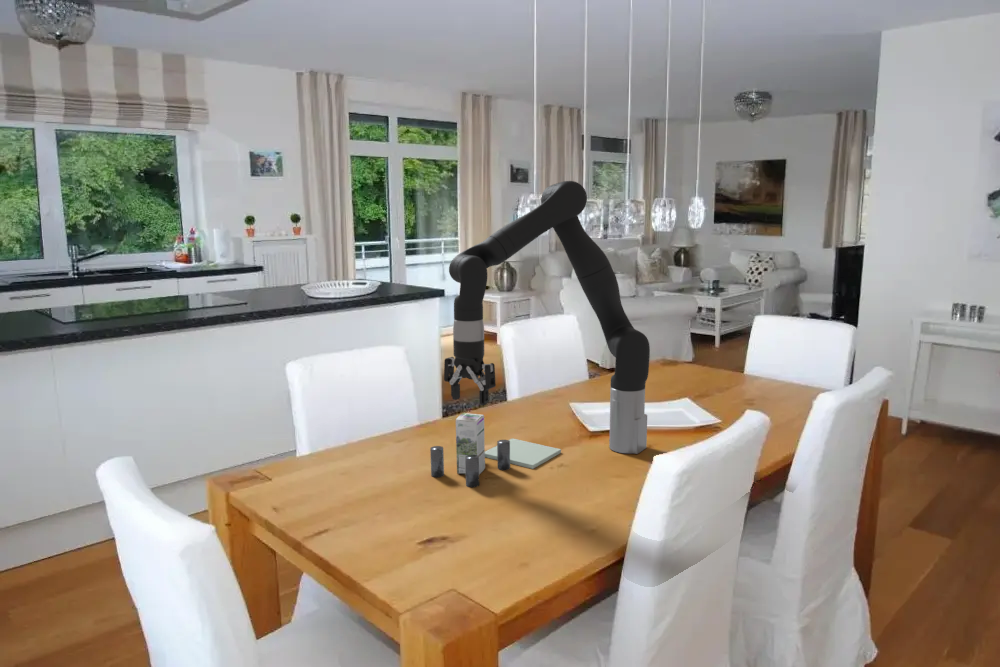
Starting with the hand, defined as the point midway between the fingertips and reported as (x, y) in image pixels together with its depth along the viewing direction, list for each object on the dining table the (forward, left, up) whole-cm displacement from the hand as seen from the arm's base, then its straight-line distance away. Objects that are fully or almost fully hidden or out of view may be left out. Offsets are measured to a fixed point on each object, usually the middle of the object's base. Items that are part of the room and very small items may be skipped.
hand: (469, 401), depth 173 cm
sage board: (-4, -17, -18) cm, 25 cm away
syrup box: (0, 0, -18) cm, 18 cm away
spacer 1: (+5, +6, -18) cm, 20 cm away
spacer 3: (-6, -7, -18) cm, 20 cm away
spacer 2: (-6, +6, -18) cm, 20 cm away
